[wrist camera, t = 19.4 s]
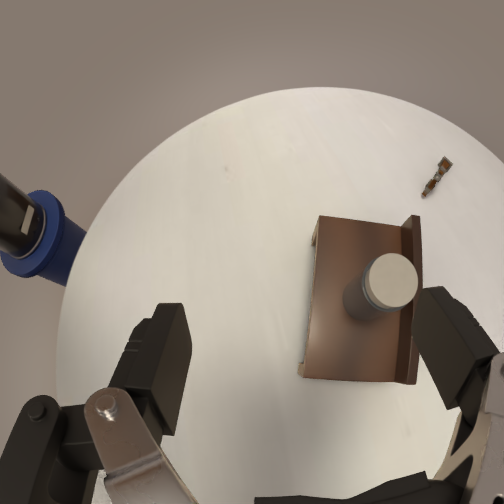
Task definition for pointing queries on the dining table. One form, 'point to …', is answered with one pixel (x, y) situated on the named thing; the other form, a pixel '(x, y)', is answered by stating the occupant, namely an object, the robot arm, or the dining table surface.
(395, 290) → the salt shaker
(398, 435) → the dining table surface
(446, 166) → the brown slender grey-tipped part
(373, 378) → the shelf
